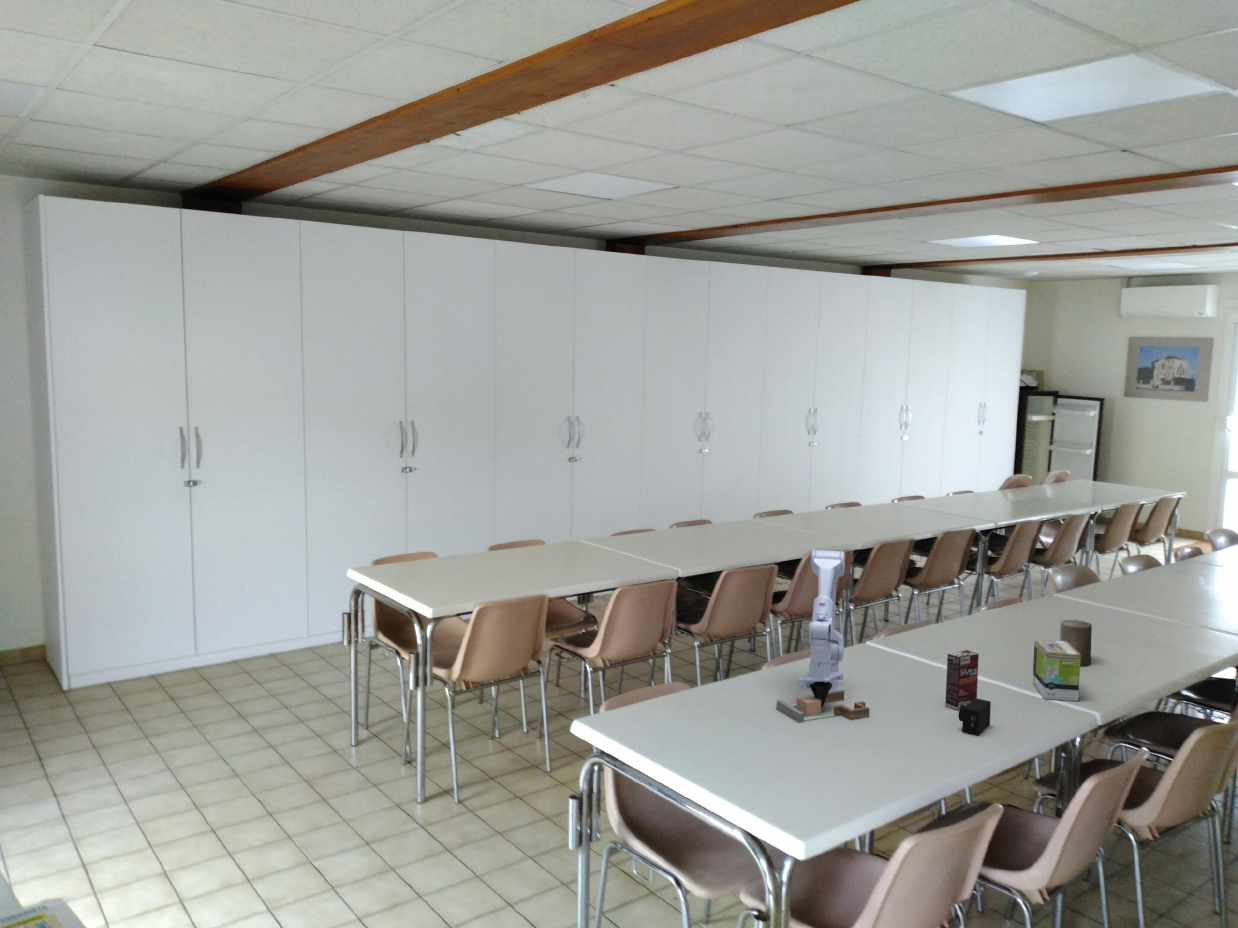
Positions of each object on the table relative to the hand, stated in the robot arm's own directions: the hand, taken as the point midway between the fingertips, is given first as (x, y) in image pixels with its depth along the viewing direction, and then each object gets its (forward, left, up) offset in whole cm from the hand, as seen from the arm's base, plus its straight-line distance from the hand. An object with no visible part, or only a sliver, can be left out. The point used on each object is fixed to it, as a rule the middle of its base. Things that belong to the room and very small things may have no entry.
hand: (819, 706), depth 264 cm
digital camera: (+28, +31, -2) cm, 42 cm away
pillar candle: (-5, +107, -2) cm, 107 cm away
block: (0, -4, -1) cm, 4 cm away
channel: (+2, +7, -1) cm, 7 cm away
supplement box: (+13, +41, -1) cm, 43 cm away
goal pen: (0, -4, -1) cm, 4 cm away
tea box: (+15, +76, -2) cm, 77 cm away
